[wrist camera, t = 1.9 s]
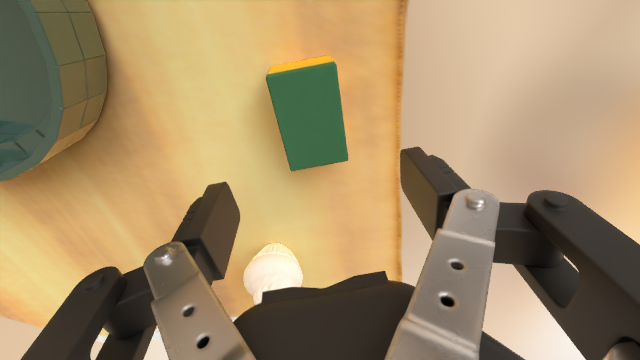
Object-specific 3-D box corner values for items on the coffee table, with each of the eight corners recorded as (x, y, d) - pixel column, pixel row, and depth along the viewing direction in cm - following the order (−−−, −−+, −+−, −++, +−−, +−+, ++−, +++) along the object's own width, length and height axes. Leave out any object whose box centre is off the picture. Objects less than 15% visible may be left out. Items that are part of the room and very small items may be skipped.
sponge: (270, 66, 20) (265, 77, 17) (329, 54, 20) (336, 63, 17) (291, 148, 24) (290, 171, 20) (341, 139, 24) (348, 160, 20)
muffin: (278, 224, 28) (273, 280, 23) (313, 254, 31) (316, 310, 25) (236, 250, 30) (222, 309, 24) (273, 277, 33) (268, 335, 27)
